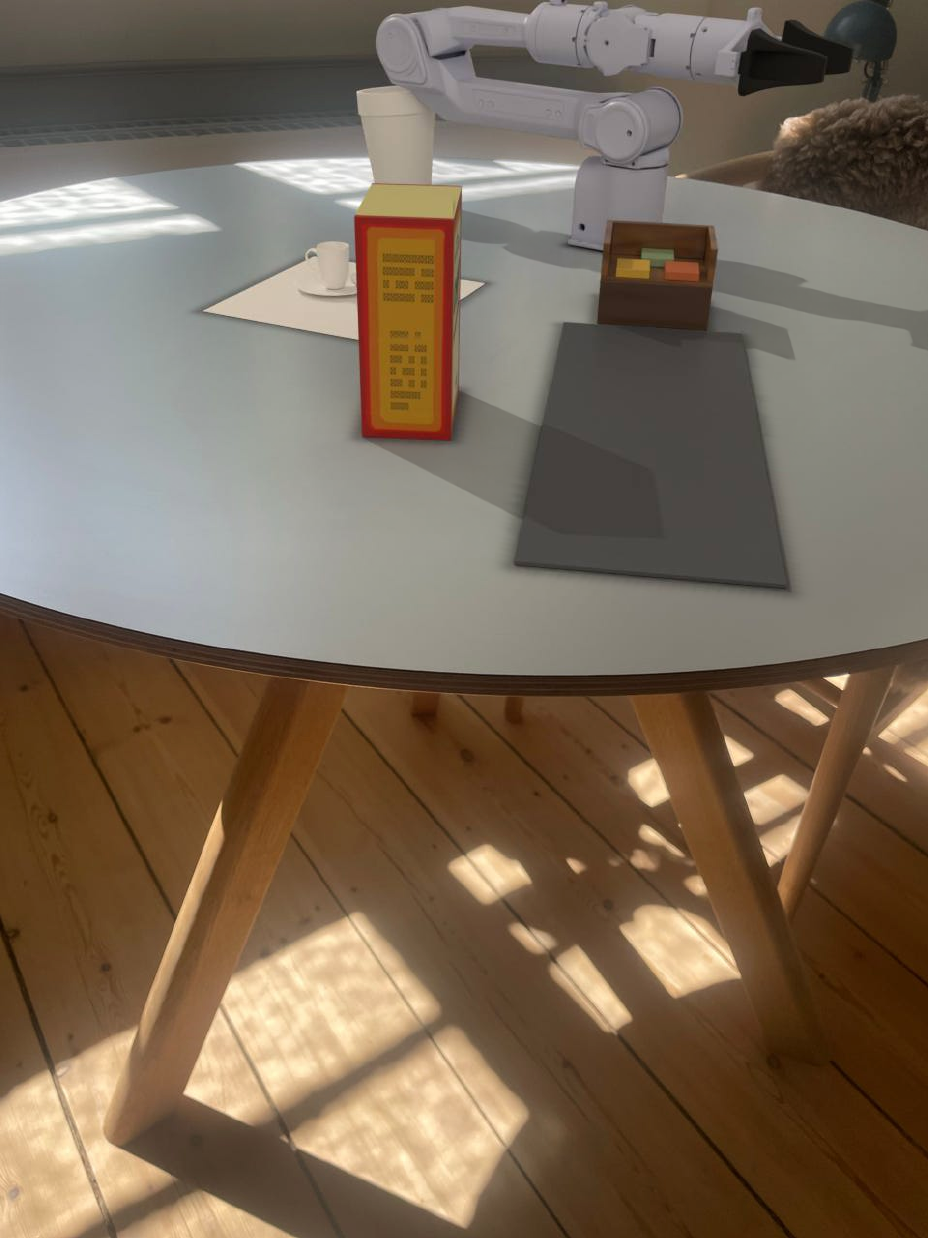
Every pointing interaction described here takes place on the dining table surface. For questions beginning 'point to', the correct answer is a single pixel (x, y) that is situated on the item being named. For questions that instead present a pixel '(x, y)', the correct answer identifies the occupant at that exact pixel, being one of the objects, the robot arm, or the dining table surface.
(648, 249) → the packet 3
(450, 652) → the dining table surface
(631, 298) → the brown wooden box panel
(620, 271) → the packet
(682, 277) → the packet
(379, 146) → the foam cup
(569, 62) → the robot arm
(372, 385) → the baking soda box
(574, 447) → the mat
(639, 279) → the tray
